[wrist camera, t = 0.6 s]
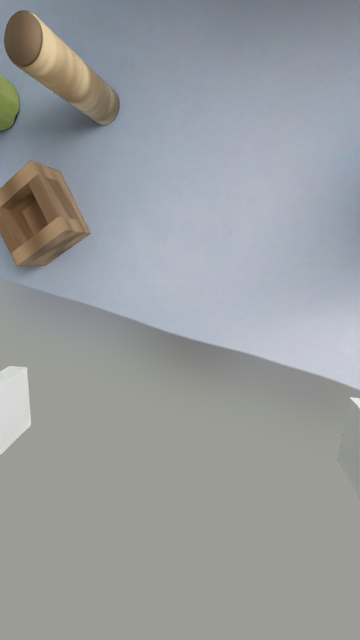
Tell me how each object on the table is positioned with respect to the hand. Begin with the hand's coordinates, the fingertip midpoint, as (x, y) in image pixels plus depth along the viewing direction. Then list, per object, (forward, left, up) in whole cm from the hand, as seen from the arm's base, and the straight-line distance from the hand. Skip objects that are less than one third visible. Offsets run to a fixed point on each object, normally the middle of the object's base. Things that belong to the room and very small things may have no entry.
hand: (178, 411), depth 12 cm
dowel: (+5, -30, -25) cm, 39 cm away
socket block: (+19, -23, -25) cm, 39 cm away
